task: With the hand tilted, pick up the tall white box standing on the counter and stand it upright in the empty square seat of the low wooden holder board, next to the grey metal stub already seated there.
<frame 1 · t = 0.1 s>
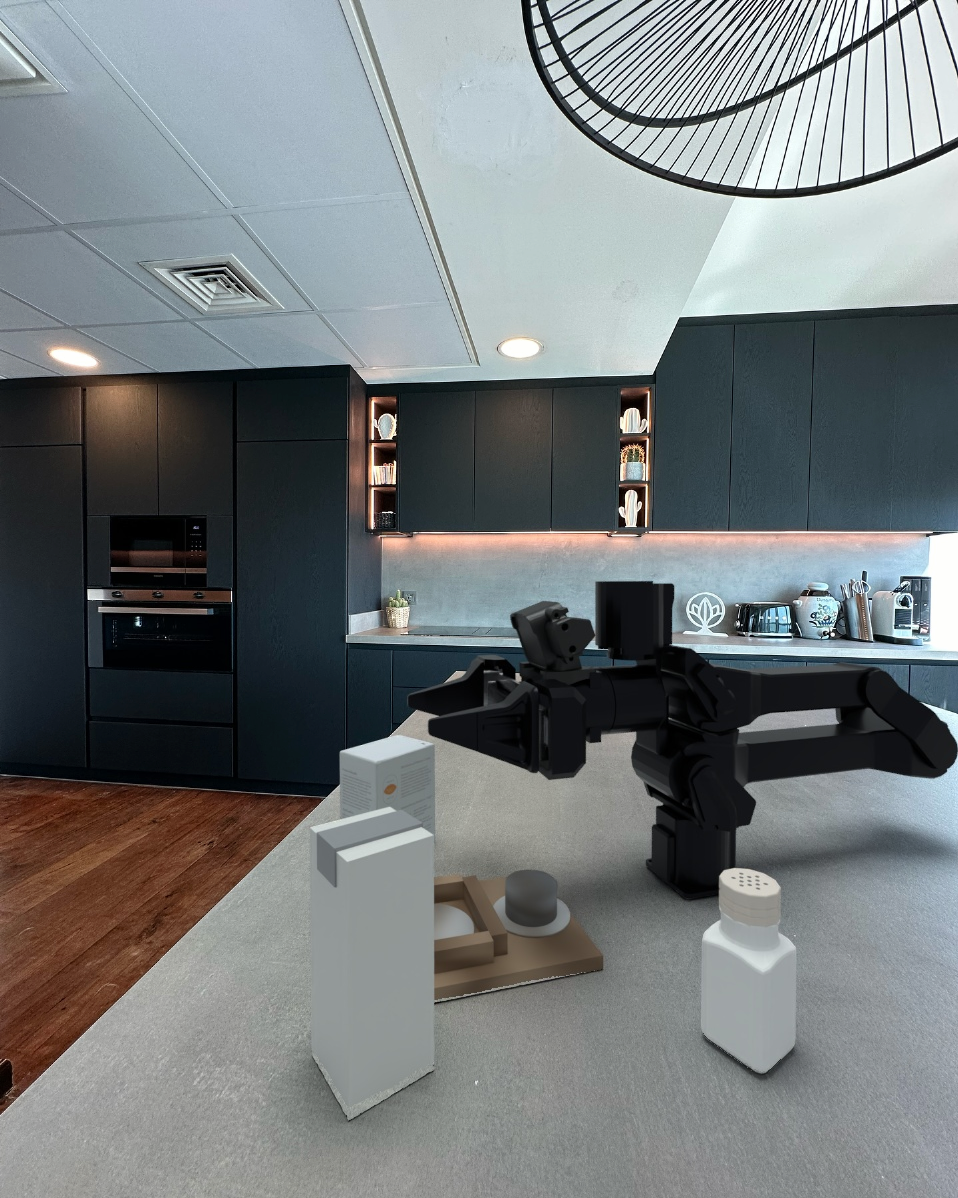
hand: (416, 712, 45), 17 cm above the countertop, tool horizontal, fingers open, 9 cm apart
tall white box: (371, 1063, 32), on the countertop
wooden holder board: (468, 937, 43), on the countertop
salt shaker: (747, 1046, 33), on the countertop
small box: (388, 852, 58), on the countertop
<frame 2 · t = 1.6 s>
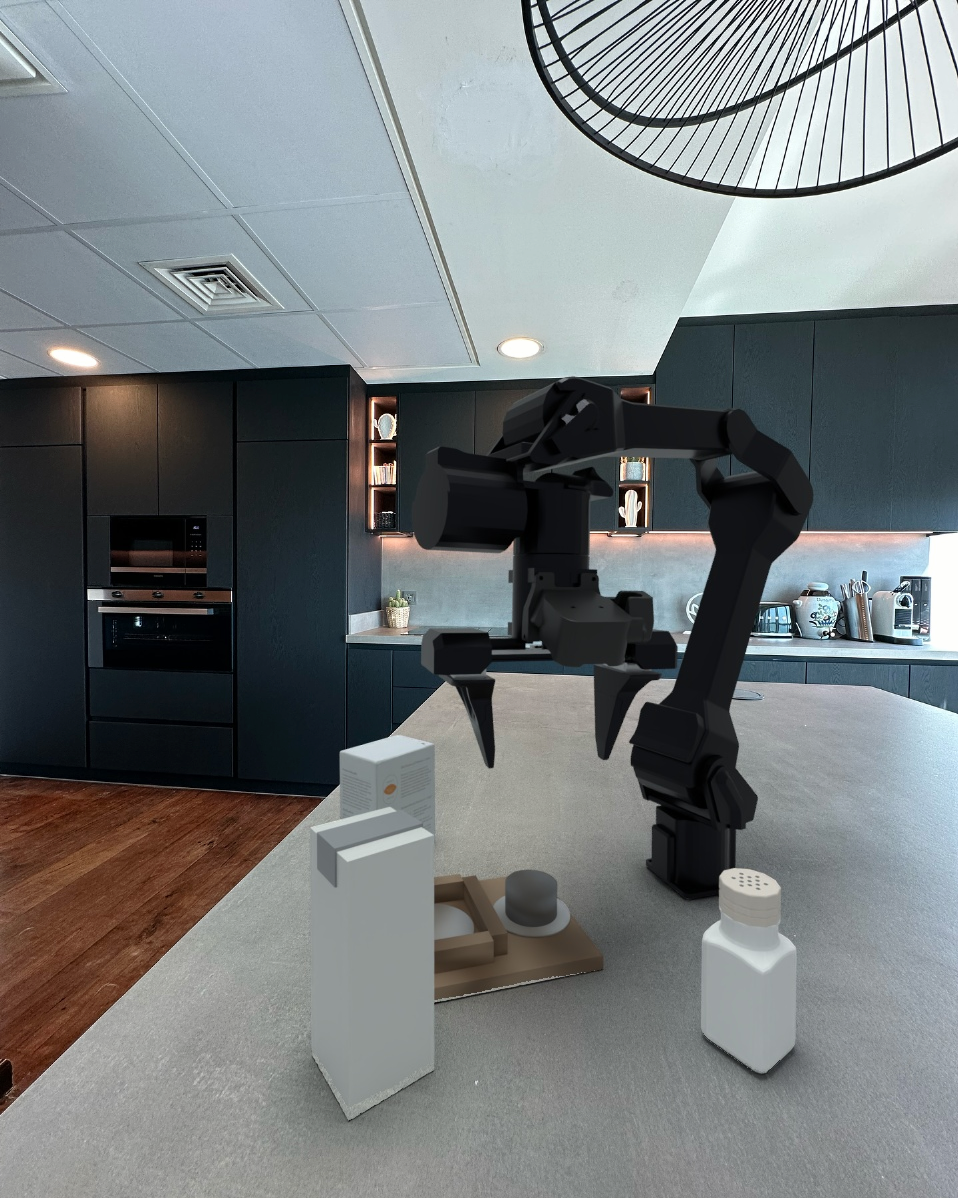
hand: (547, 762, 44), 13 cm above the countertop, tool pointing down, fingers open, 9 cm apart
nothing on the countertop moved.
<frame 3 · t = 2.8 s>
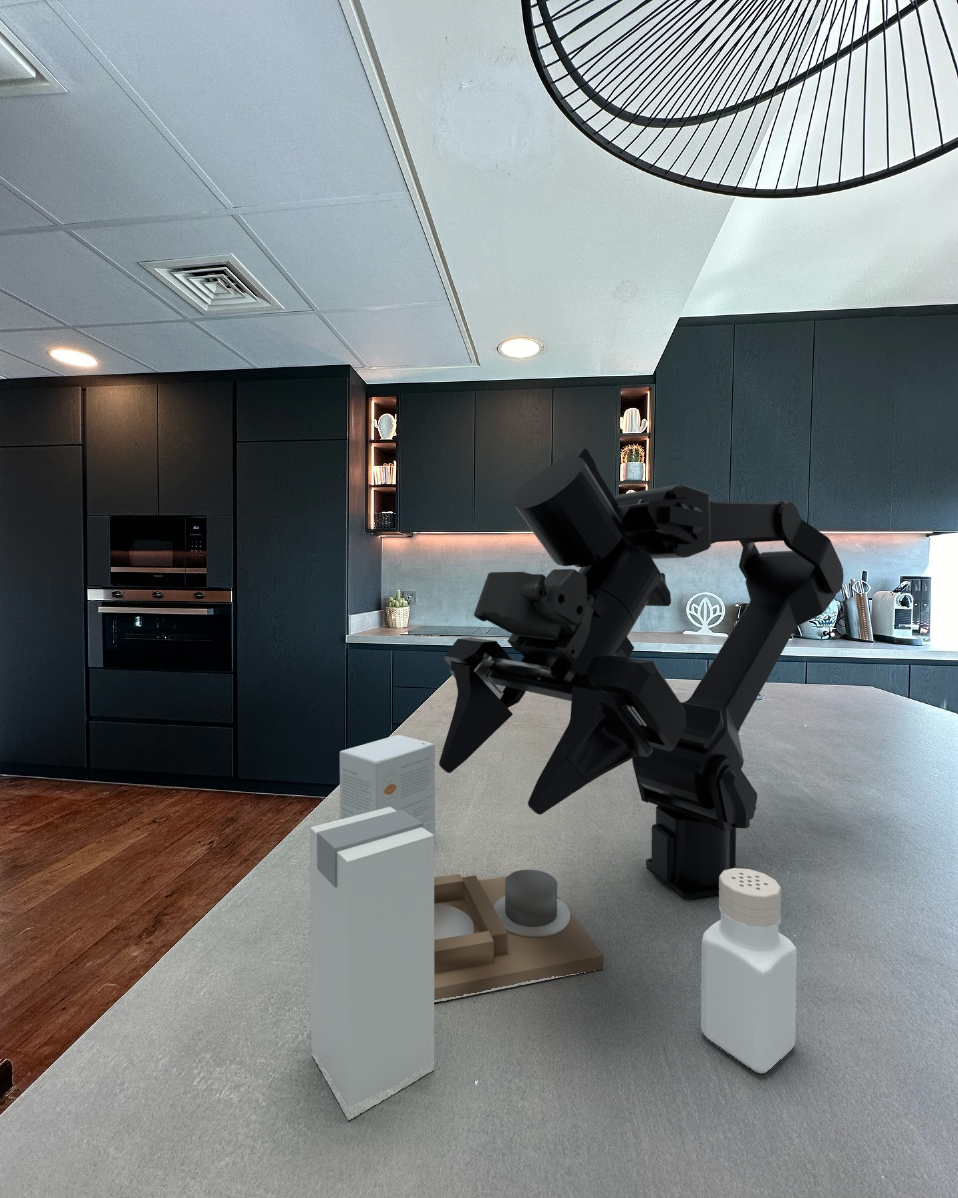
hand: (484, 787, 37), 13 cm above the countertop, tool tilted 45°, fingers open, 9 cm apart
nothing on the countertop moved.
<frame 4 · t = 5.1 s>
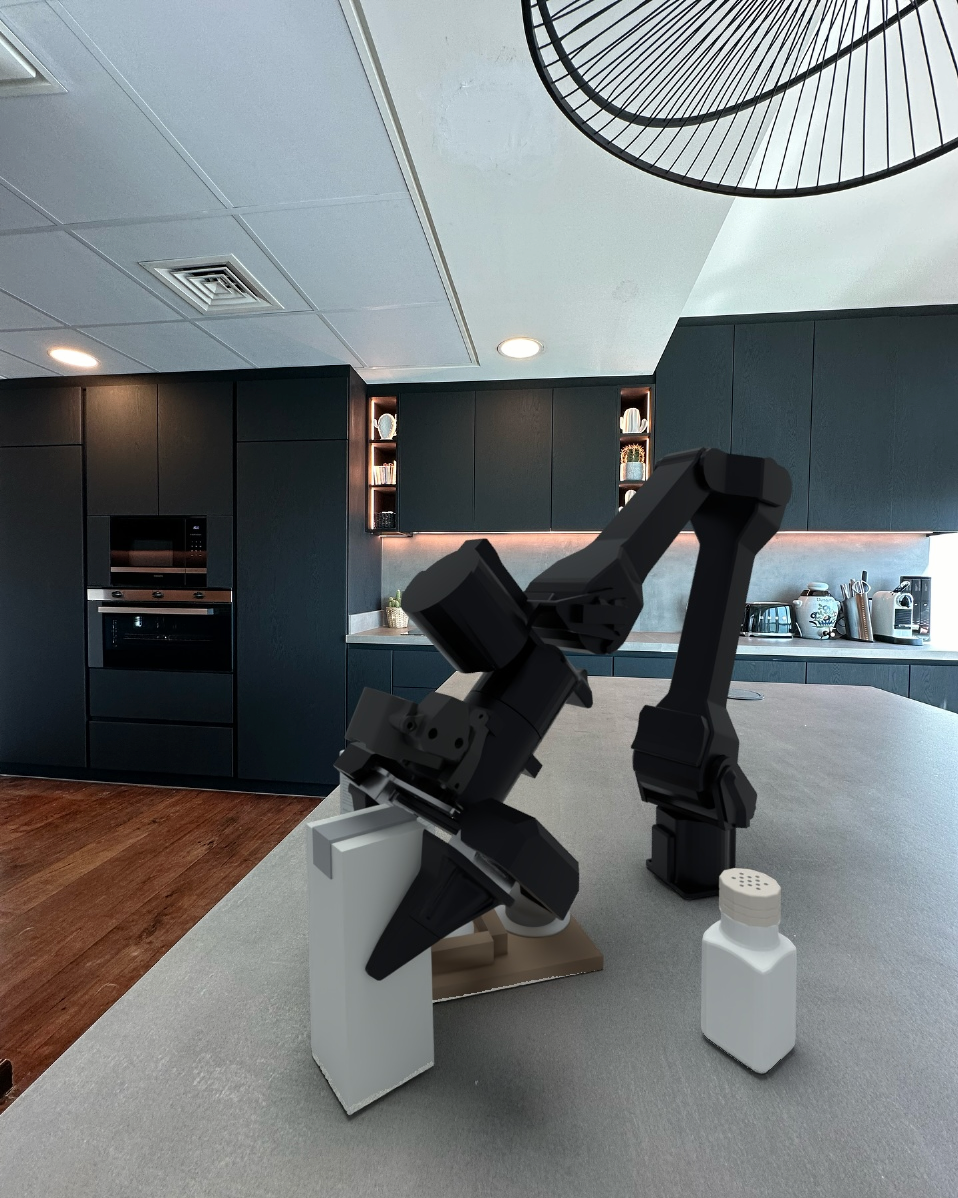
hand: (348, 949, 31), 7 cm above the countertop, tool tilted 45°, fingers closed on tall white box, 5 cm apart
tall white box: (371, 1061, 32), on the countertop, touching gripper
everything else where it was.
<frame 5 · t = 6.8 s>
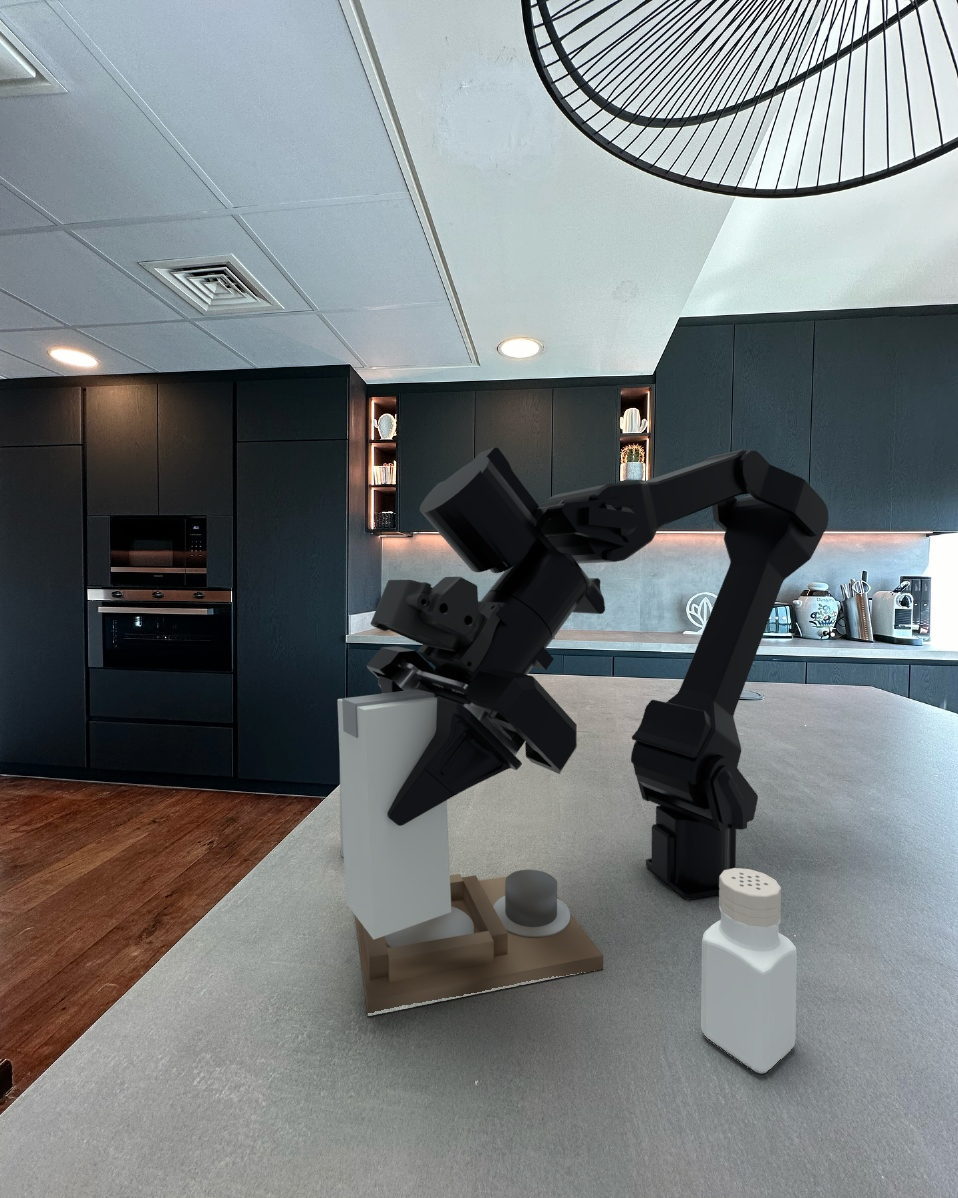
hand: (374, 806, 36), 13 cm above the countertop, tool tilted 45°, fingers closed on tall white box, 5 cm apart
tall white box: (397, 907, 36), point 6 cm above the countertop, touching gripper
everything else where it was.
when the fingers open (9 cm above the countertop, at t = 8.6 s): tall white box drops 1 cm, resting on wooden holder board.
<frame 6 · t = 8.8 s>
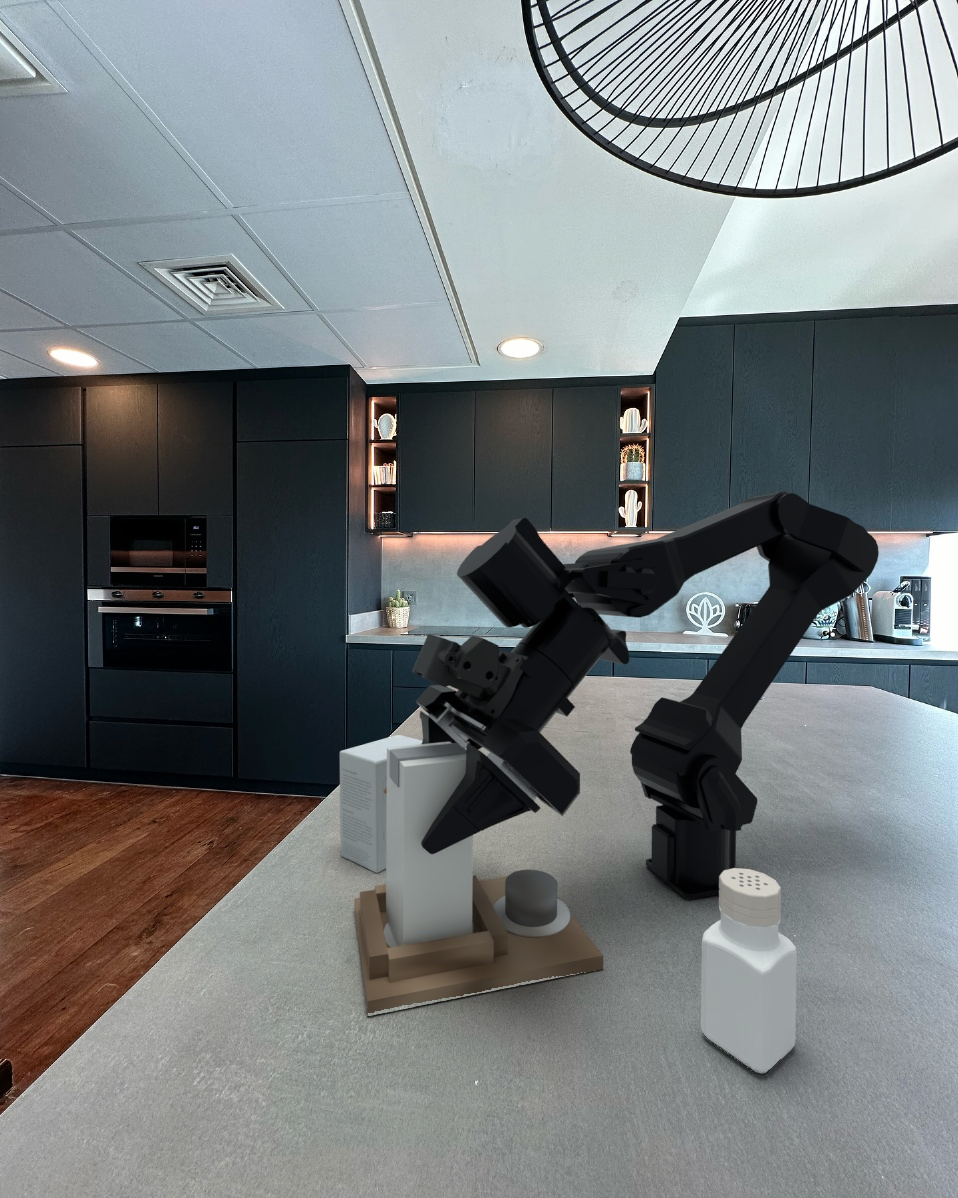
hand: (410, 828, 42), 9 cm above the countertop, tool tilted 45°, fingers open, 7 cm apart
tall white box: (427, 930, 42), point 1 cm above the countertop, touching wooden holder board
everything else where it was.
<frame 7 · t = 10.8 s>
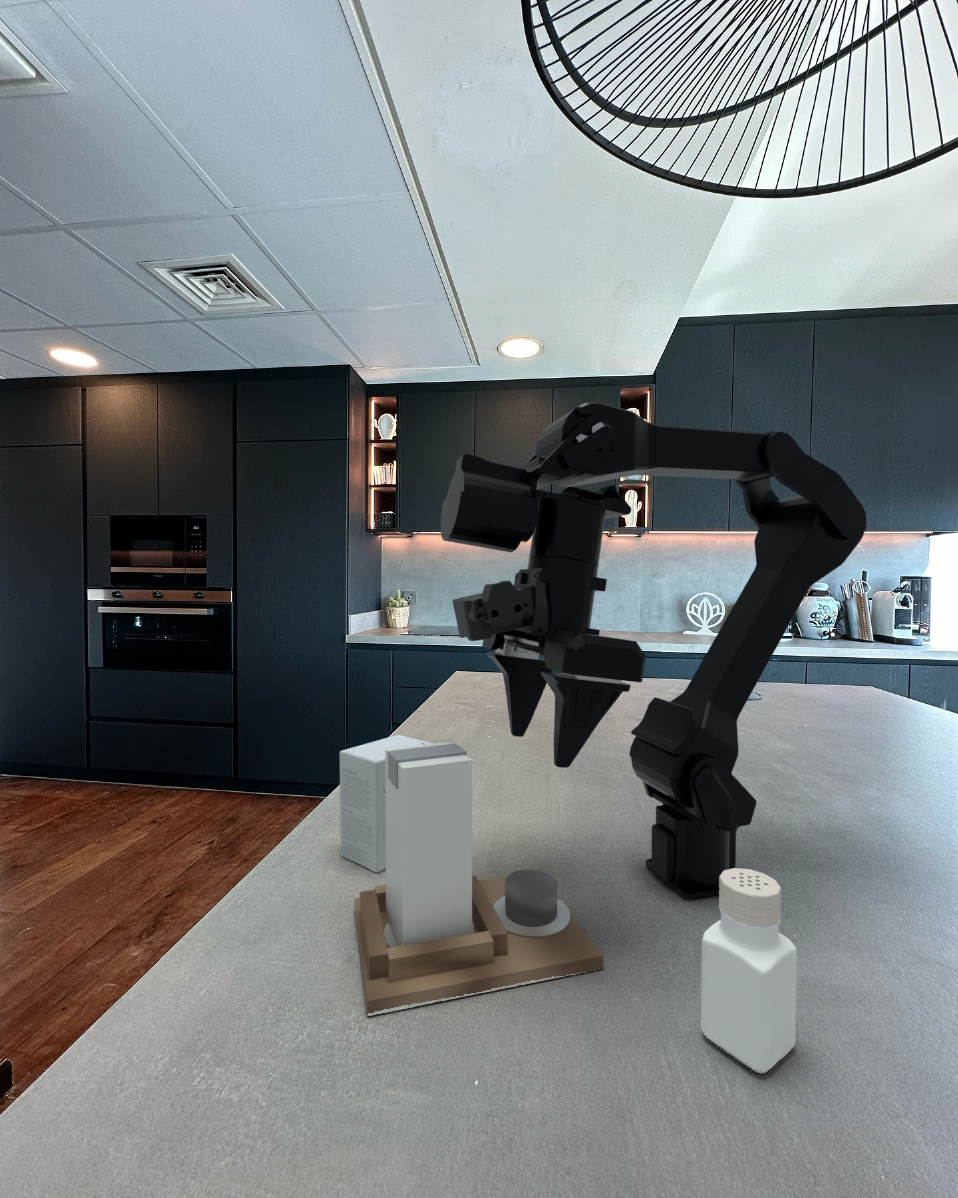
hand: (537, 750, 47), 13 cm above the countertop, tool pointing down, fingers open, 9 cm apart
nothing on the countertop moved.
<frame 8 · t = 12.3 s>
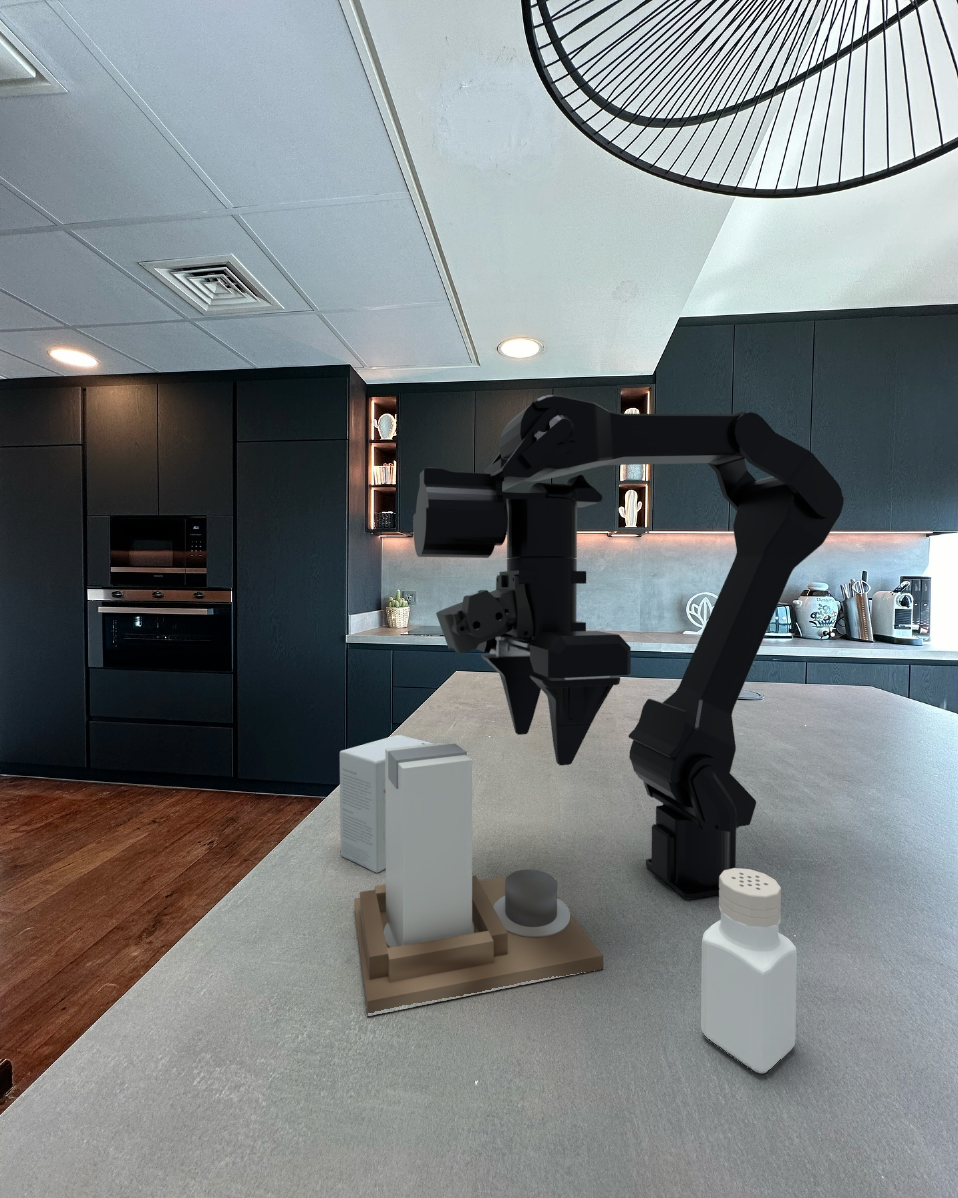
hand: (540, 748, 48), 13 cm above the countertop, tool pointing down, fingers open, 9 cm apart
nothing on the countertop moved.
at the end: tall white box 0.3 cm from the target spot on the wooden holder board, point 1.2 cm above the wooden holder board's base; tall white box tilted 0°; the gripper is holding nothing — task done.
